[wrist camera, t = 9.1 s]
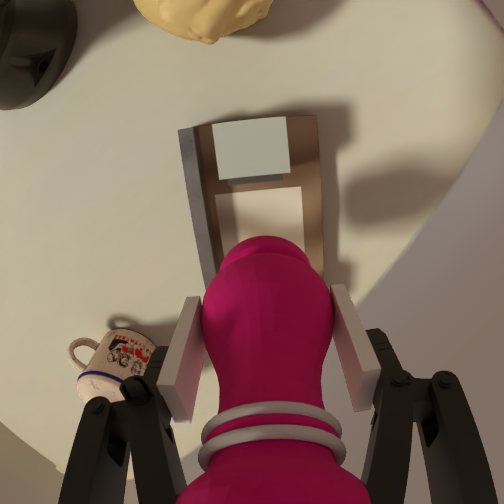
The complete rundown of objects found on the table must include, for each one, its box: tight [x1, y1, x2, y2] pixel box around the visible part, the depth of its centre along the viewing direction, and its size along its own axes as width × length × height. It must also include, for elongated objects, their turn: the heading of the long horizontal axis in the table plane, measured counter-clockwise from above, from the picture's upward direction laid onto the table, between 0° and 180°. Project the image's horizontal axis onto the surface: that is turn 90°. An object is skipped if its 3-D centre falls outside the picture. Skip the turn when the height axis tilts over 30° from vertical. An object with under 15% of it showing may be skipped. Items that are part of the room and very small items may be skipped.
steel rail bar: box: [178, 127, 220, 290], centre depth 27 cm, size 20×1×2 cm, turn 6°
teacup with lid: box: [67, 329, 156, 404], centre depth 32 cm, size 12×9×12 cm
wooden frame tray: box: [198, 115, 323, 279], centre depth 29 cm, size 20×11×2 cm, turn 6°
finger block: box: [212, 116, 291, 186], centre depth 23 cm, size 5×5×5 cm
